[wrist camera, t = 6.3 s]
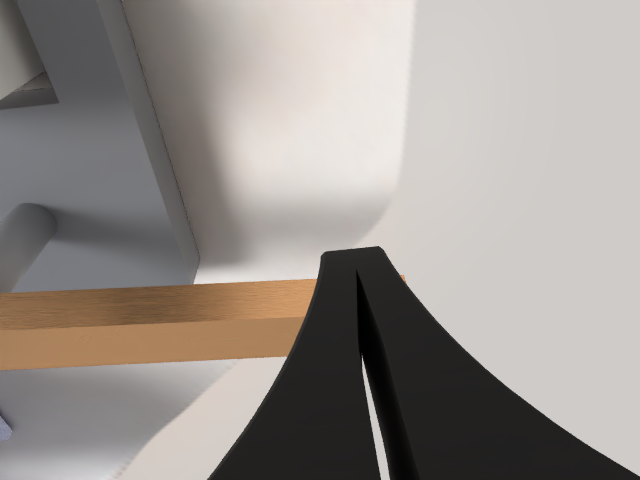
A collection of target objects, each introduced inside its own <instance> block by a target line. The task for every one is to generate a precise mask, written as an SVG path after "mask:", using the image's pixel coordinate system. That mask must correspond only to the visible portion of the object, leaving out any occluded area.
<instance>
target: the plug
mask: <svg viewBox="0 0 640 480" xmlns="http://www.w3.org/2000/svg"><path fill="white" fill-rule="evenodd" d="M44 71H45V68H44V65H43V63H42V60H41V58H40V56H39V53H38V51H37V49H36V46H35V44H34V42H33V39H32V37H31V35H30V32H29V30H28V27H27V25H26V23H25V20H24V18H23V16H22V13H21V11H20V9H19V6H18V4H17V2H16V0H0V100H1V99H3V98H4V97H6V96H7V95H9V94H10V93H12V92H13V91H15V90H16V89H18V88H19V87H21V86H22V85H24V84H25V83H27V82H28V81H30V80H31V79H33V78H34V77H36V76H37V75H39V74H40V73H42V72H44Z"/></svg>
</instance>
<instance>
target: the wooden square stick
mask: <svg viewBox="0 0 640 480" xmlns="http://www.w3.org/2000/svg"><path fill="white" fill-rule="evenodd" d="M400 276H401V278H402V279H403V280H404V282H405V283H406V281H405V278H404V275H400ZM316 282H317V279H303V280H281V281H259V282H237V283H215V284H192V285H170V286H148V287H126V288H104V289H82V290H60V291H38V292H16V293H0V370H17V369H37V368H58V367H79V366H99V365H120V364H140V363H161V362H181V361H202V360H223V359H243V358H264V357H284V356H288V355H289V353H290V351H291V348H292V346H293V344H294V342H295V339H296V337H297V335H298V332H299V330H300V328H301V326H302V323H303V321H304V318H305V316H306V313H307V310H308V307H309V304H310V301H311V299H312V296H313V293H314V289H315V286H316Z"/></svg>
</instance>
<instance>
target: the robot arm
mask: <svg viewBox="0 0 640 480" xmlns="http://www.w3.org/2000/svg"><path fill="white" fill-rule="evenodd" d="M362 357H363V361H364V365H365V369H366V373H367V377H368V382H369V386H370V390H371V394H372V398H373V401H374V406H375V410H376V414H377V418H378V423H379V427H380V431H381V434H382V438H383V443H384V448H385V453H386V458H387V463H388V470H389V476H390V480H640V476H638V475H636V474H635V473H633V472H631V471H630V470H628V469H626V468H624V467H623V466H621V465H620V464H618V463H616V462H614V461H613V460H611V459H610V458H608V457H606V456H605V455H603V454H601V453H599V452H598V451H596V450H595V449H593V448H591V447H590V446H588V445H587V444H585V443H584V442H582V441H581V440H579V439H577V438H576V437H575V436H573V435H572V434H570V433H569V432H567V431H566V430H565V429H563V428H562V427H560V426H559V425H557V424H556V423H554V422H553V421H552V420H550V419H549V418H548V417H546V416H545V415H544V414H542V413H541V412H540V411H538V410H537V409H535V408H534V407H533V406H532V405H530V404H529V403H528V402H526V401H525V400H524V399H522V398H521V397H520V396H518V395H517V394H516V393H514V392H513V391H512V390H510V389H509V388H508V387H507V386H505V385H504V384H503V383H502V382H501V381H500V380H498V379H497V378H496V377H495V376H494V375H492V374H491V373H490V372H489V371H488V370H486V369H485V368H484V367H483V366H482V365H481V364H480V363H479V362H478V361H477V360H475V359H474V358H473V357H472V356H471V355H470V354H469V353H468V352H467V351H466V350H465V349H464V348H462V346H461V345H460V344H458V342H457V341H456V340H455V339H454V338H453V337H452V336H451V335H450V334H449V333H448V332H447V331H446V330H445V329H444V328H443V327H442V326H441V325H440V324H439V323H438V322H437V321H436V320H435V318H434V317H433V316H432V315H431V314H430V313H429V311H428V310H427V309H426V308H425V307H424V306H423V304H422V303H421V302H420V301H419V299H418V298H417V297H416V296H415V295H414V293H413V292H412V291H411V290H410V288H409V287H408V286H407V284H406V283H405V282H404V280H403V279H402V278H401V276H400V275H399V273H398V272H397V271H396V269H395V268H394V266H393V265H392V263H391V262H390V260H389V259H388V257H387V255H386V253H385V252H384V250H383V249H382V248H381V247H379V246H376V247H366V248H356V249H347V250H337V251H327V252H325V253H324V254H323V255H322V256H321V262H320V269H319V274H318V278H317V282H316V286H315V289H314V293H313V296H312V299H311V301H310V304H309V307H308V310H307V313H306V316H305V318H304V321H303V323H302V326H301V328H300V330H299V332H298V335H297V337H296V339H295V342H294V344H293V346H292V348H291V351H290V353H289V355H288V357H287V359H286V361H285V363H284V365H283V367H282V369H281V371H280V372H279V374H278V376H277V378H276V379H275V381H274V383H273V385H272V387H271V388H270V390H269V392H268V393H267V395H266V396H265V398H264V400H263V401H262V403H261V405H260V406H259V408H258V409H257V411H256V413H255V415H254V416H253V417H252V419H251V420H250V422H249V424H248V425H247V426H246V428H245V429H244V431H243V432H242V434H241V435H240V436H239V438H238V439H237V440H236V442H235V443H234V445H233V446H232V447H231V449H230V450H229V451H228V453H227V454H226V456H225V457H224V458H223V459H222V461H221V462H220V464H219V465H218V466H217V468H216V469H215V470H214V472H213V473H212V474H211V475H210V477H209V478H208V479H207V480H381V477H380V472H379V466H378V461H377V455H376V449H375V444H374V438H373V432H372V427H371V421H370V415H369V409H368V403H367V397H366V391H365V385H364V379H363V373H362ZM11 435H12V430H11V429H10V427H9V426H8V425H7V424H6V422H5V421H4V420H3V419H2V418H1V416H0V441H4V440H8V439H9V438H10V437H11Z"/></svg>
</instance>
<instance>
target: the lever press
mask: <svg viewBox="0 0 640 480" xmlns="http://www.w3.org/2000/svg"><path fill="white" fill-rule="evenodd" d="M16 2H17V4H18V6H19V9H20V11H21V13H22V16H23V18H24V20H25V23H26V25H27V27H28V30H29V32H30V35H31V37H32V39H33V42H34V44H35V46H36V49H37V51H38V53H39V56H40V58H41V60H42V63H43V65H44V68H45V70H46V72H47V75H48V77H49V79H50V82H51V84H52V86H53V88H44V89H35V90H25V91H16V92H12V93H10V94H9V95H7V96H6V97H4V98H3V99H1V100H0V293H16V292H38V291H60V290H82V289H104V288H126V287H148V286H170V285H192V284H193V283H194V279H195V276H196V272H197V268H198V265H199V261H200V257H199V254H198V250H197V247H196V244H195V241H194V237H193V234H192V231H191V228H190V224H189V221H188V218H187V215H186V211H185V208H184V205H183V202H182V198H181V195H180V192H179V189H178V185H177V182H176V179H175V176H174V172H173V169H172V166H171V163H170V159H169V156H168V153H167V150H166V146H165V143H164V140H163V137H162V133H161V130H160V127H159V124H158V120H157V117H156V114H155V111H154V107H153V104H152V101H151V98H150V94H149V91H148V88H147V85H146V81H145V78H144V75H143V72H142V68H141V65H140V62H139V59H138V55H137V52H136V49H135V46H134V42H133V39H132V36H131V33H130V29H129V26H128V23H127V20H126V16H125V13H124V10H123V7H122V3H121V0H16Z"/></svg>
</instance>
